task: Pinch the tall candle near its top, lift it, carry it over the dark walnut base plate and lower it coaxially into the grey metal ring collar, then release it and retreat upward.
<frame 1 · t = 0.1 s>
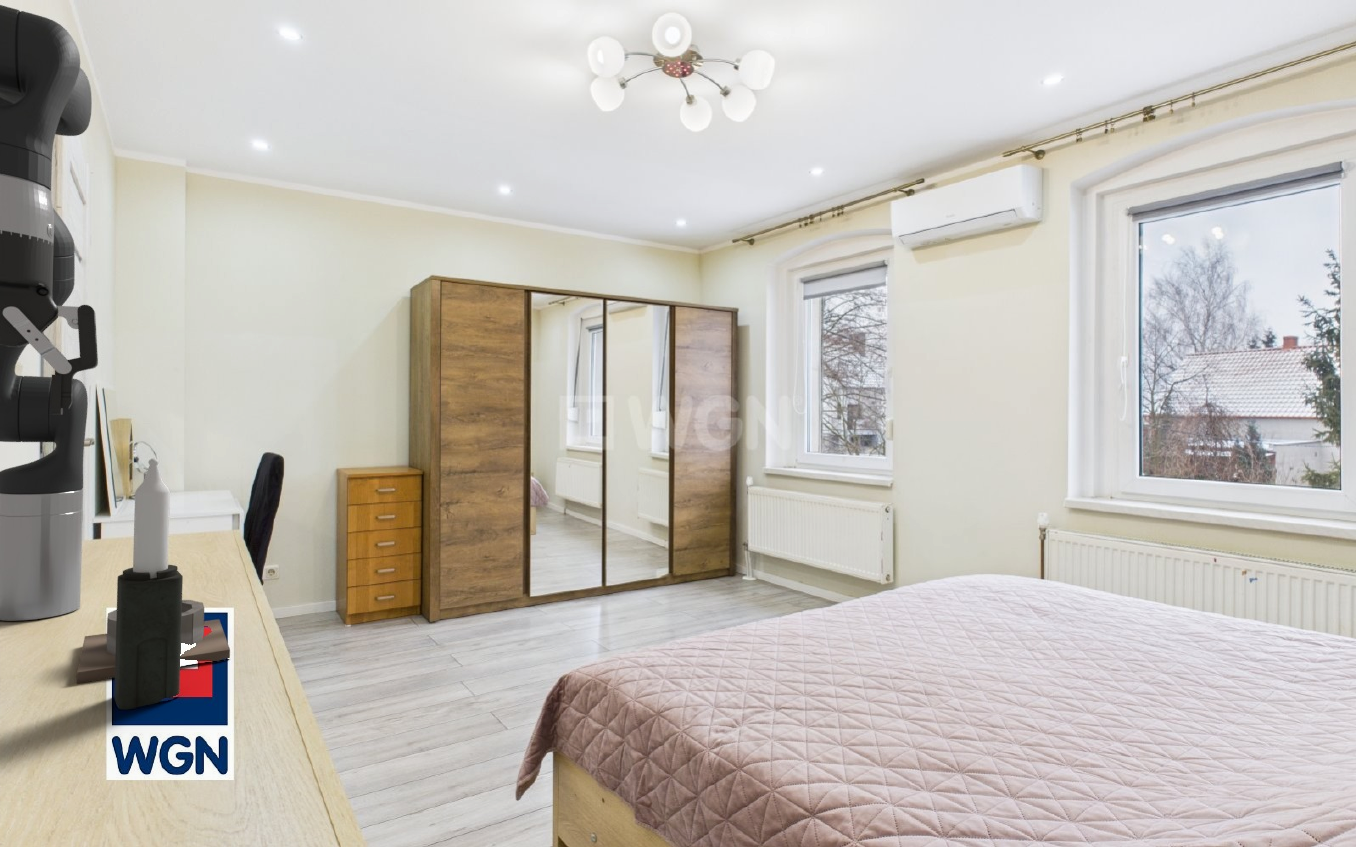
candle: (147, 699, 73), on the table
holder: (156, 652, 86), on the table
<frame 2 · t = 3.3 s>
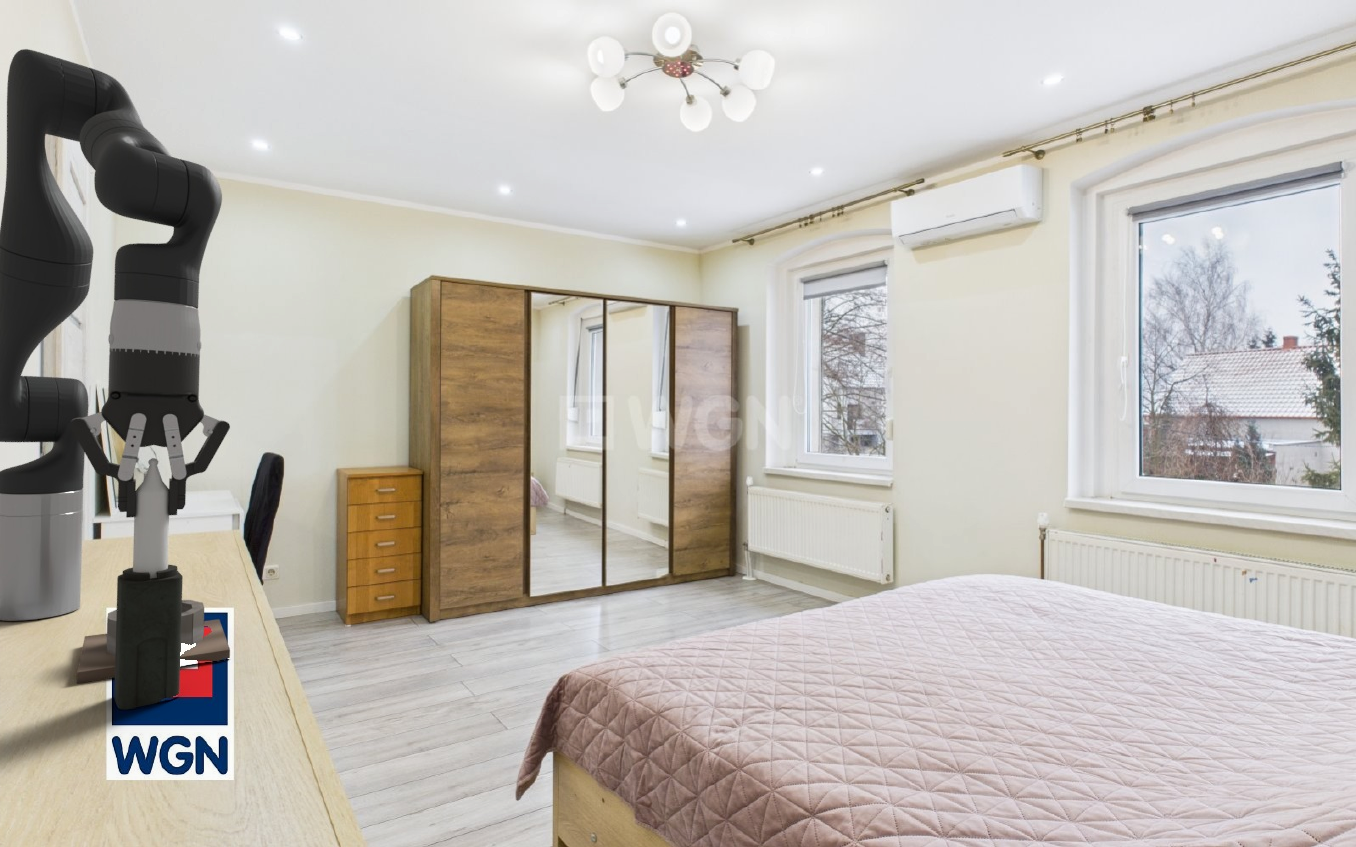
hand: (151, 514, 73), 19 cm above the table, fingers closed on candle, 3 cm apart
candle: (147, 698, 73), on the table, touching gripper
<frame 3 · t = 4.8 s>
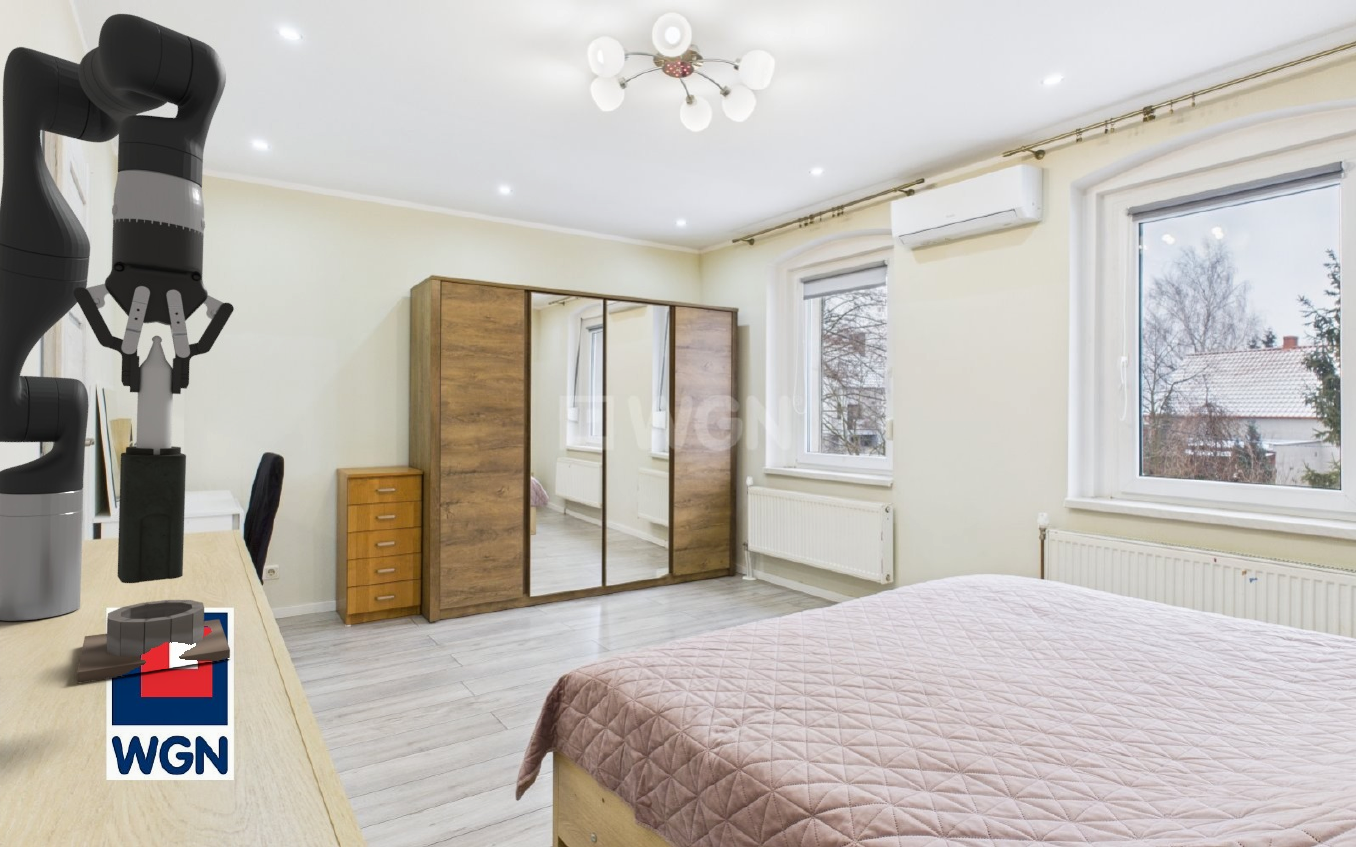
hand: (155, 392, 73), 32 cm above the table, fingers closed on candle, 3 cm apart
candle: (150, 577, 73), point 12 cm above the table, touching gripper
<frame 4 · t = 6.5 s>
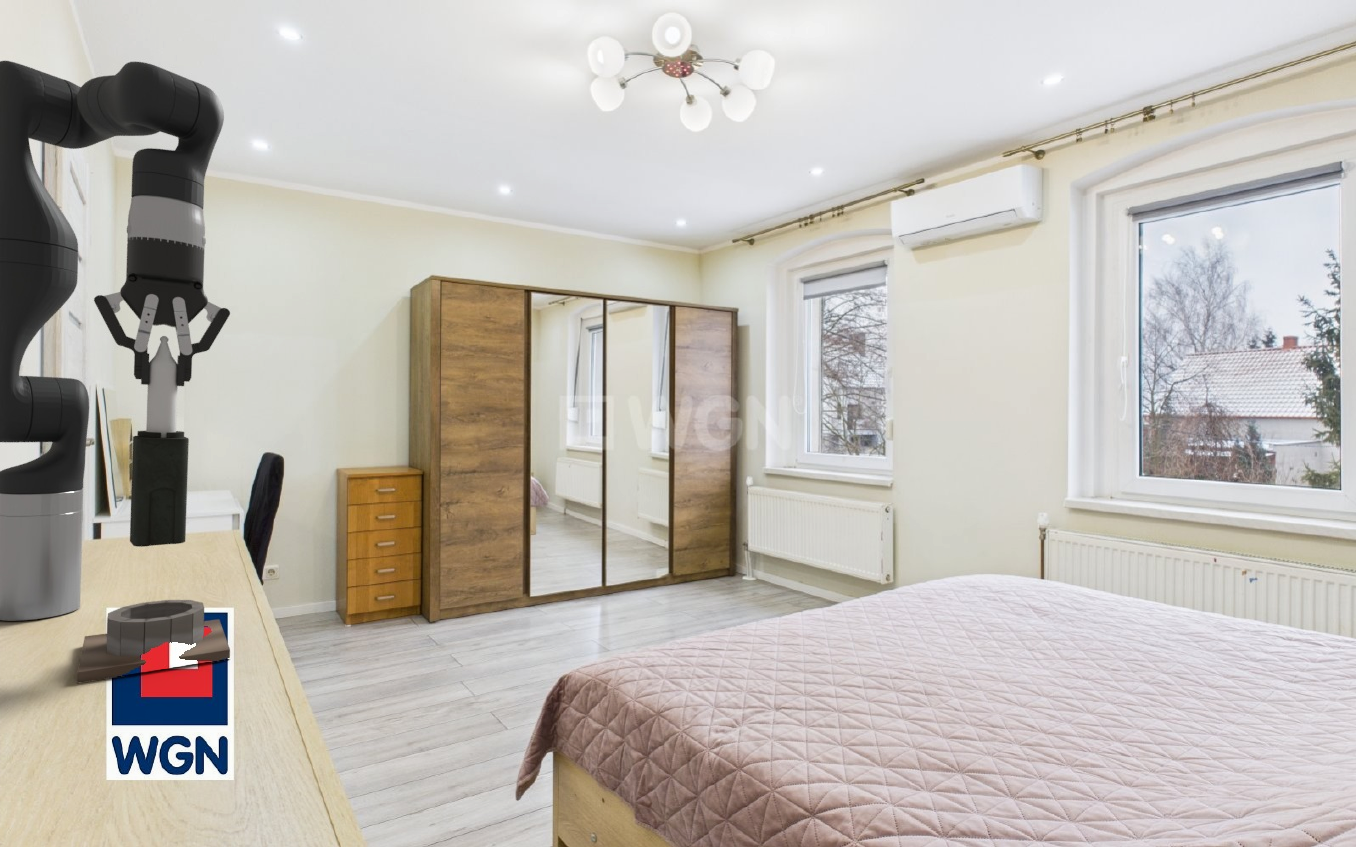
hand: (162, 384, 85), 33 cm above the table, fingers closed on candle, 3 cm apart
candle: (157, 543, 85), point 13 cm above the table, touching gripper
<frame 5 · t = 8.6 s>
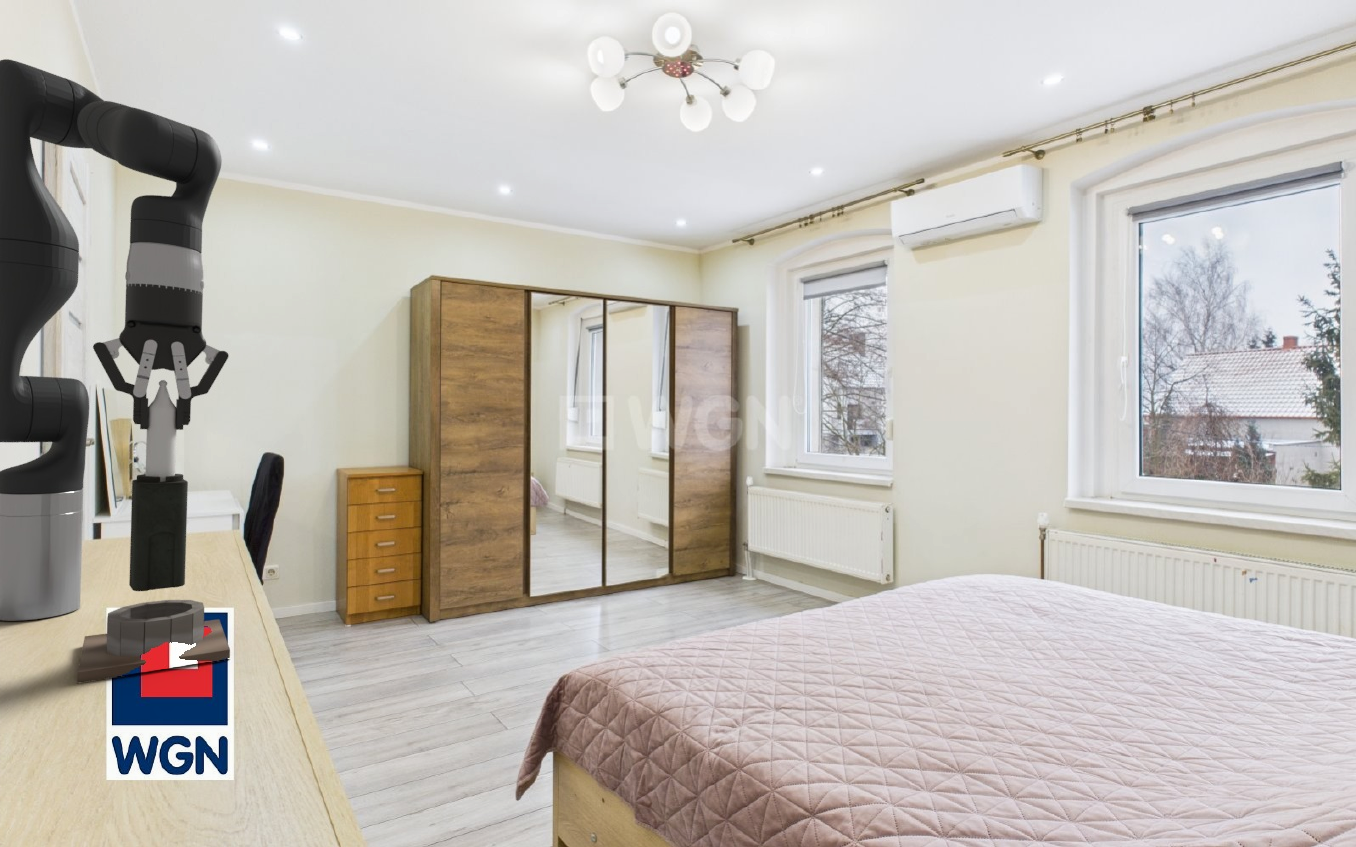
hand: (161, 428, 85), 27 cm above the table, fingers closed on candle, 3 cm apart
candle: (157, 586, 86), point 8 cm above the table, touching gripper
when the fingers open (22 cm above the table, at t = 10.2 s): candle drops 1 cm, resting on holder.
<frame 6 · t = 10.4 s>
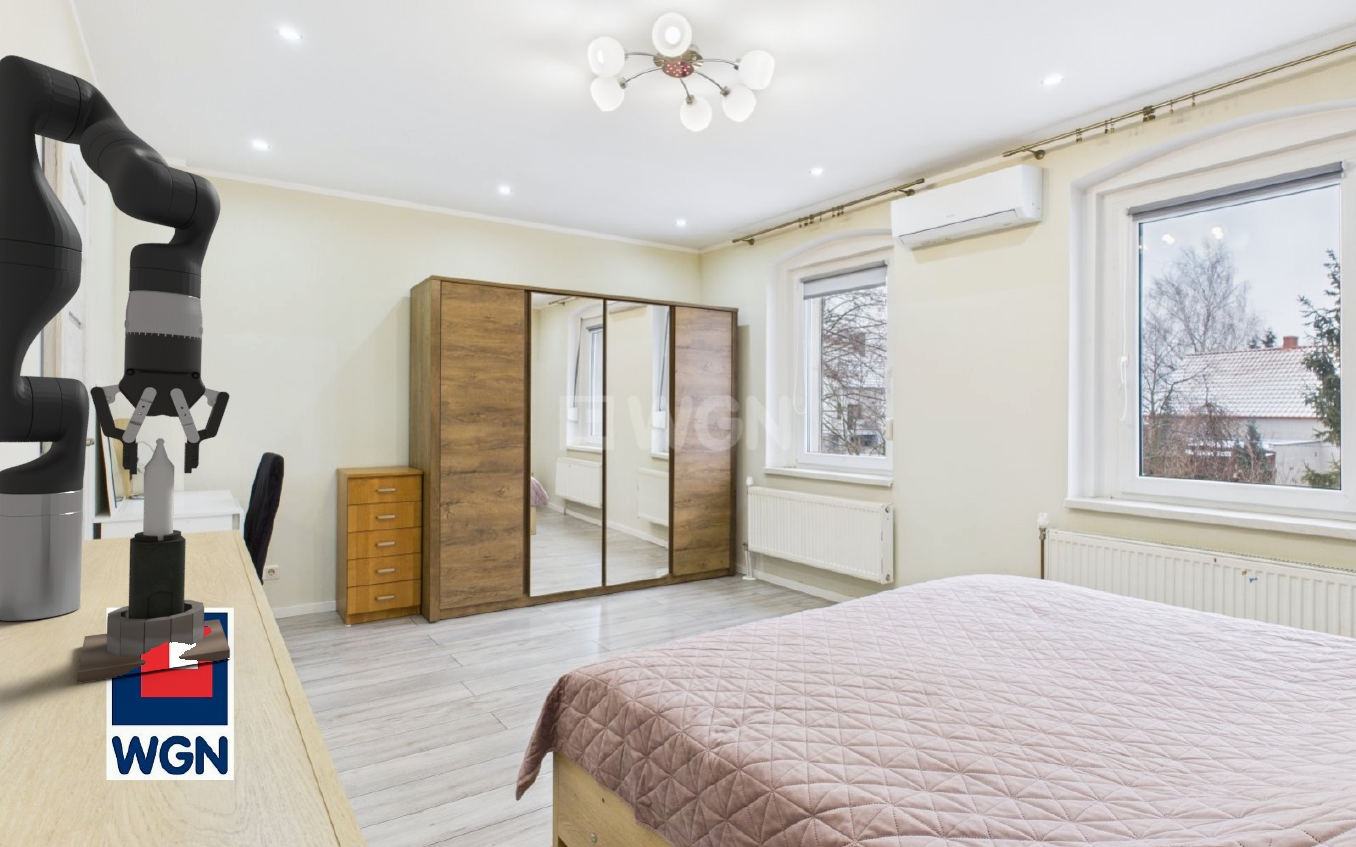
hand: (160, 472, 85), 22 cm above the table, fingers open, 4 cm apart
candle: (155, 643, 86), point 1 cm above the table, touching holder
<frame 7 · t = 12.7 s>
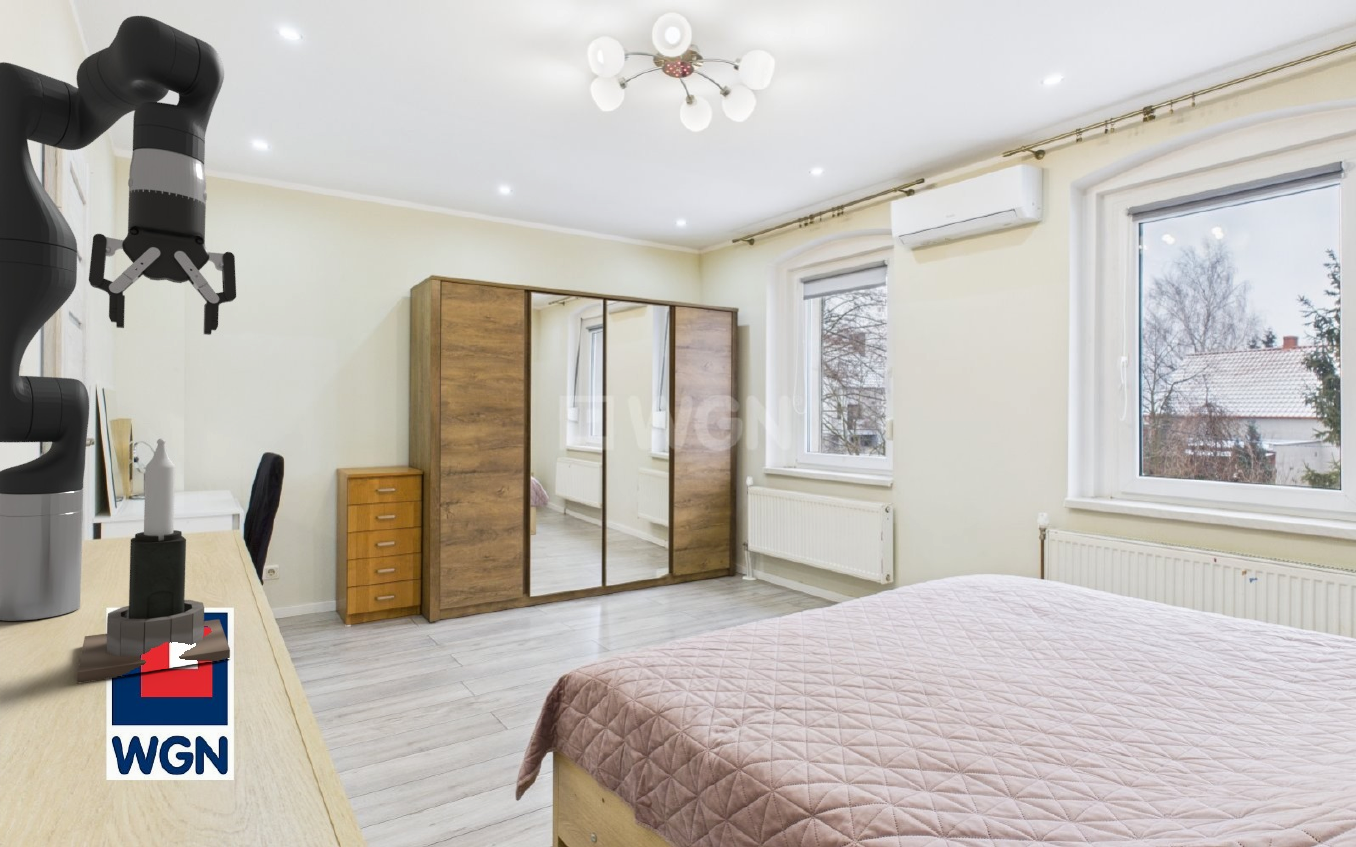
hand: (164, 331, 85), 39 cm above the table, fingers open, 8 cm apart
nothing on the table moved.
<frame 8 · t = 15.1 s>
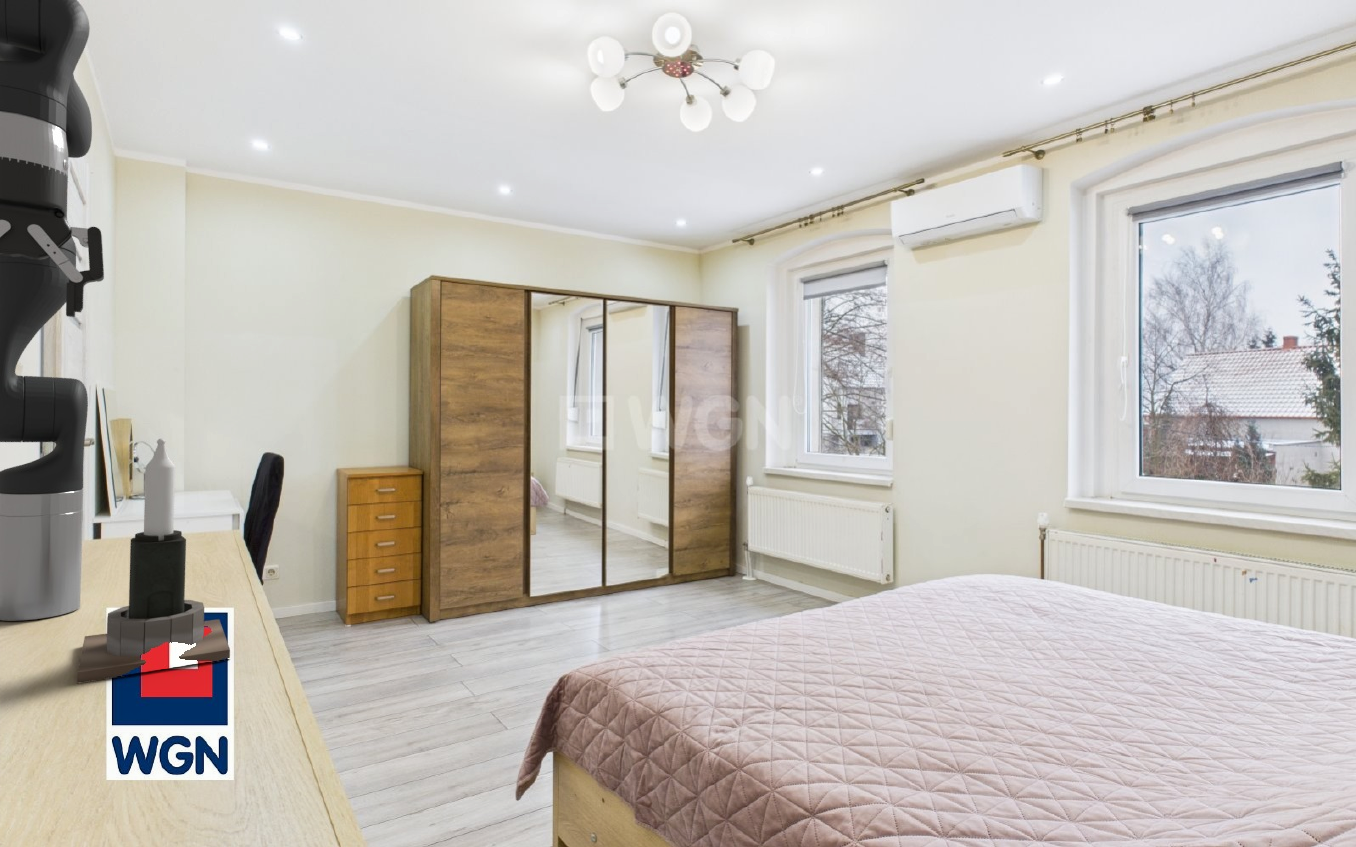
hand: (19, 312, 78), 40 cm above the table, fingers open, 8 cm apart
nothing on the table moved.
at the end: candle 0.1 cm off-centre on the holder, point 1.0 cm above the holder's base; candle tilted 0°; the gripper is holding nothing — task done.
